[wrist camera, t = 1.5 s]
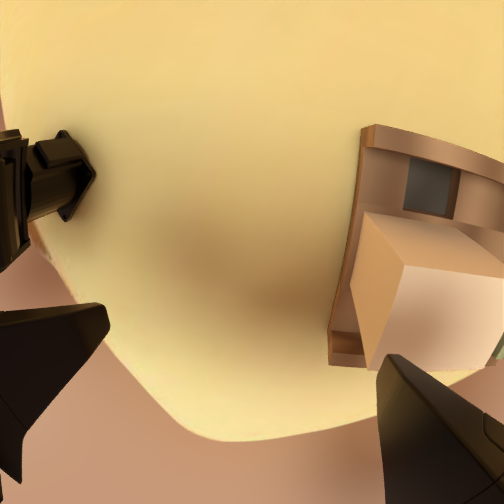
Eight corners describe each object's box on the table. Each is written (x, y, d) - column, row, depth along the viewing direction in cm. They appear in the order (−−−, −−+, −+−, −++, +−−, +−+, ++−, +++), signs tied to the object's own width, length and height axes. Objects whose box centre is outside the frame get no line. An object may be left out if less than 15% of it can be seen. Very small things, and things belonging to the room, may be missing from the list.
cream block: (349, 284, 18) (367, 370, 10) (364, 211, 16) (404, 264, 8) (437, 294, 17) (483, 368, 9) (456, 228, 15) (525, 282, 7)
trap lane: (327, 330, 21) (328, 370, 17) (361, 128, 15) (378, 123, 11) (479, 339, 18) (497, 369, 14) (528, 181, 13) (562, 193, 9)
